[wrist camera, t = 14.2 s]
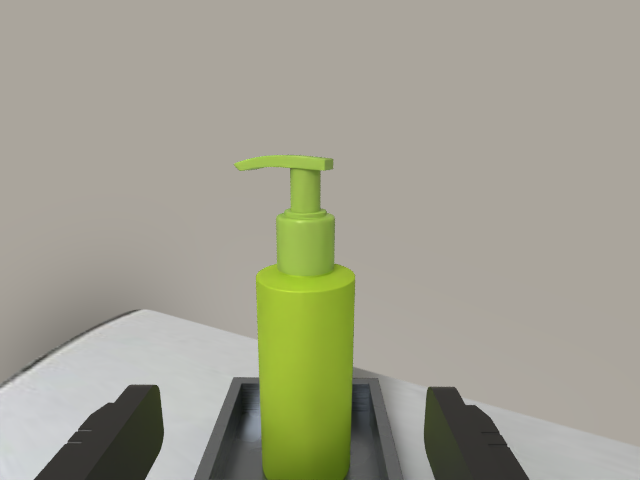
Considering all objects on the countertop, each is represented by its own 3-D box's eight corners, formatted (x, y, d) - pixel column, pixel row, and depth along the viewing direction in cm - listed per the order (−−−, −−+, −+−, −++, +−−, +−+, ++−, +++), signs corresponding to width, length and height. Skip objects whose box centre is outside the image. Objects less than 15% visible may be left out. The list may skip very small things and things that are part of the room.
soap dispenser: (268, 419, 30) (261, 154, 25) (357, 437, 28) (366, 155, 23) (232, 480, 24) (213, 155, 20) (339, 508, 22) (346, 156, 18)
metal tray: (376, 414, 31) (377, 378, 31) (403, 542, 21) (406, 493, 20) (235, 413, 31) (233, 377, 31) (193, 541, 21) (189, 491, 20)
